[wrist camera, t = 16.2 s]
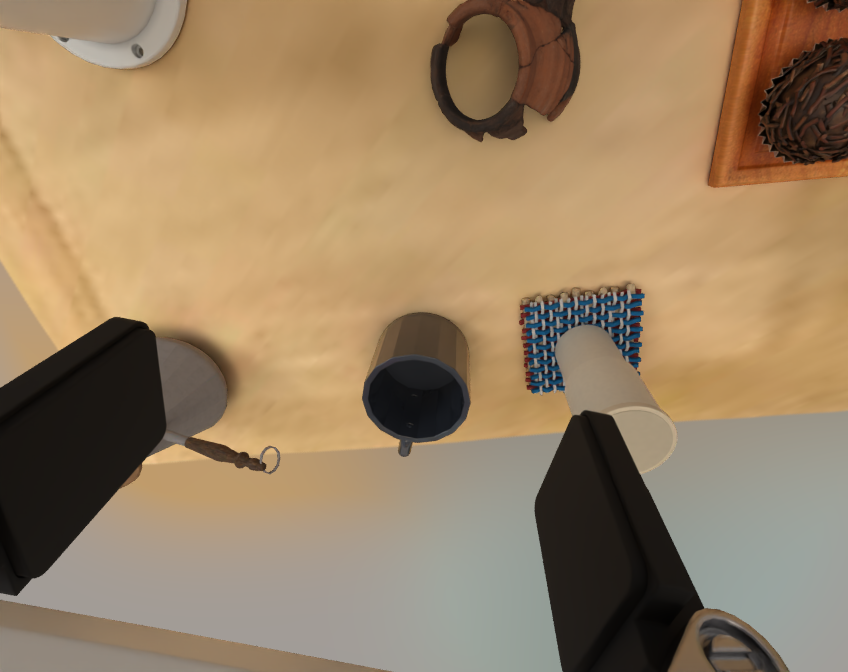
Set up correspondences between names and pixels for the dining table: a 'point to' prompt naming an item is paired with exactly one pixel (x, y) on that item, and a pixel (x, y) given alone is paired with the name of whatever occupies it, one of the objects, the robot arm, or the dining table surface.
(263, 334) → the dining table surface
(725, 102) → the chocolate cupcake tray
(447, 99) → the broken brown clay pot
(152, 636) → the robot arm
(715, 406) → the dining table surface
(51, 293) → the dining table surface
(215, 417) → the coffee pot
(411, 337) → the mug
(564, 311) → the woven mat
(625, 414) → the paper cup
